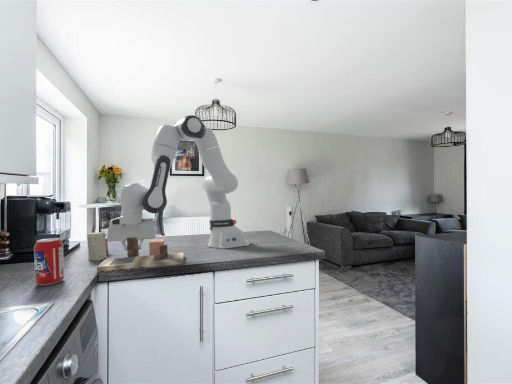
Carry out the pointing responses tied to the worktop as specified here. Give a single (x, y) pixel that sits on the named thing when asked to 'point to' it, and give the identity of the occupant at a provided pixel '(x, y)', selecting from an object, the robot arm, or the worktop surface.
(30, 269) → the worktop surface
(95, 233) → the skincare box
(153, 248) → the block
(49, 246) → the soda can
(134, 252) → the peg
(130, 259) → the pad
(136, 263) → the board
